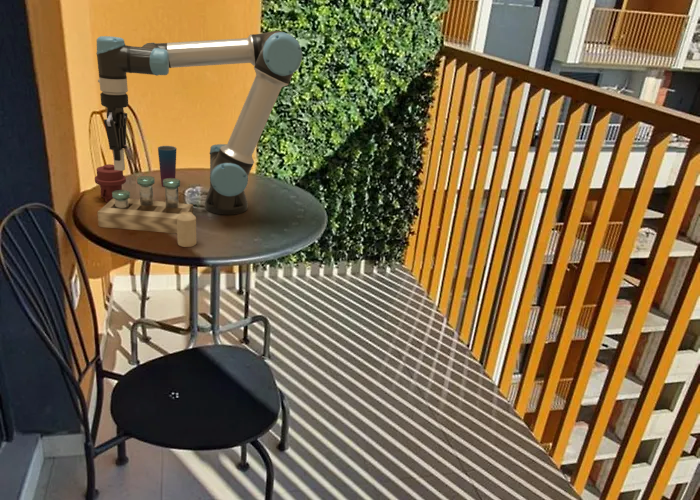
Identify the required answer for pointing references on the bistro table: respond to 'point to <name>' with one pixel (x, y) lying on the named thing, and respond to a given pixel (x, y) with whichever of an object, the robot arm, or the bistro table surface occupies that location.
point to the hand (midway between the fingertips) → (119, 169)
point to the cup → (167, 162)
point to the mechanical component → (109, 180)
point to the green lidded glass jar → (146, 190)
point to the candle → (186, 229)
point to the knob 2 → (171, 192)
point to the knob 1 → (121, 198)
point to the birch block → (142, 216)
